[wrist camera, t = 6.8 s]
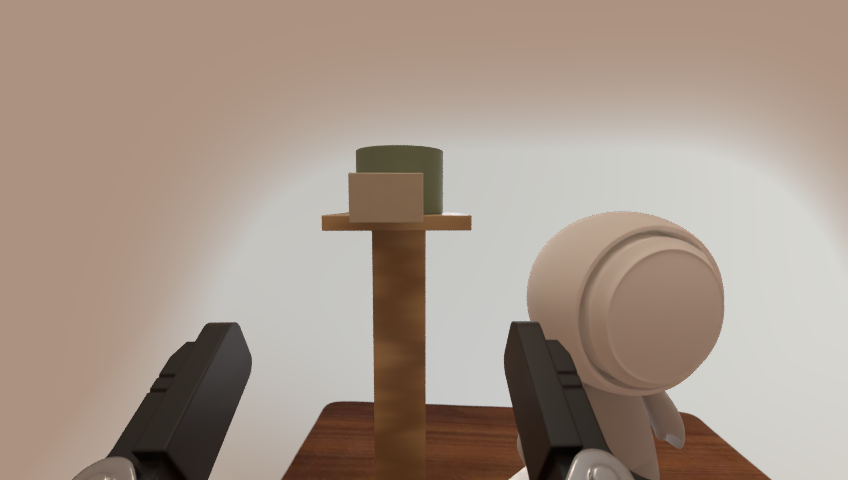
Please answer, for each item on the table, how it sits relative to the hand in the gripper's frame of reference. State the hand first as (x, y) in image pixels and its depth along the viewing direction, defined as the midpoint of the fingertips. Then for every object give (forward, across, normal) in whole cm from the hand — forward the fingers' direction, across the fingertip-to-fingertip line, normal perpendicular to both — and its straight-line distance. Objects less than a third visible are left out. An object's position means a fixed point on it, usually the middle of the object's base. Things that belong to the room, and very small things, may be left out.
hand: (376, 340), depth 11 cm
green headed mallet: (+14, 0, +4) cm, 15 cm away
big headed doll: (+8, -22, +42) cm, 48 cm away
